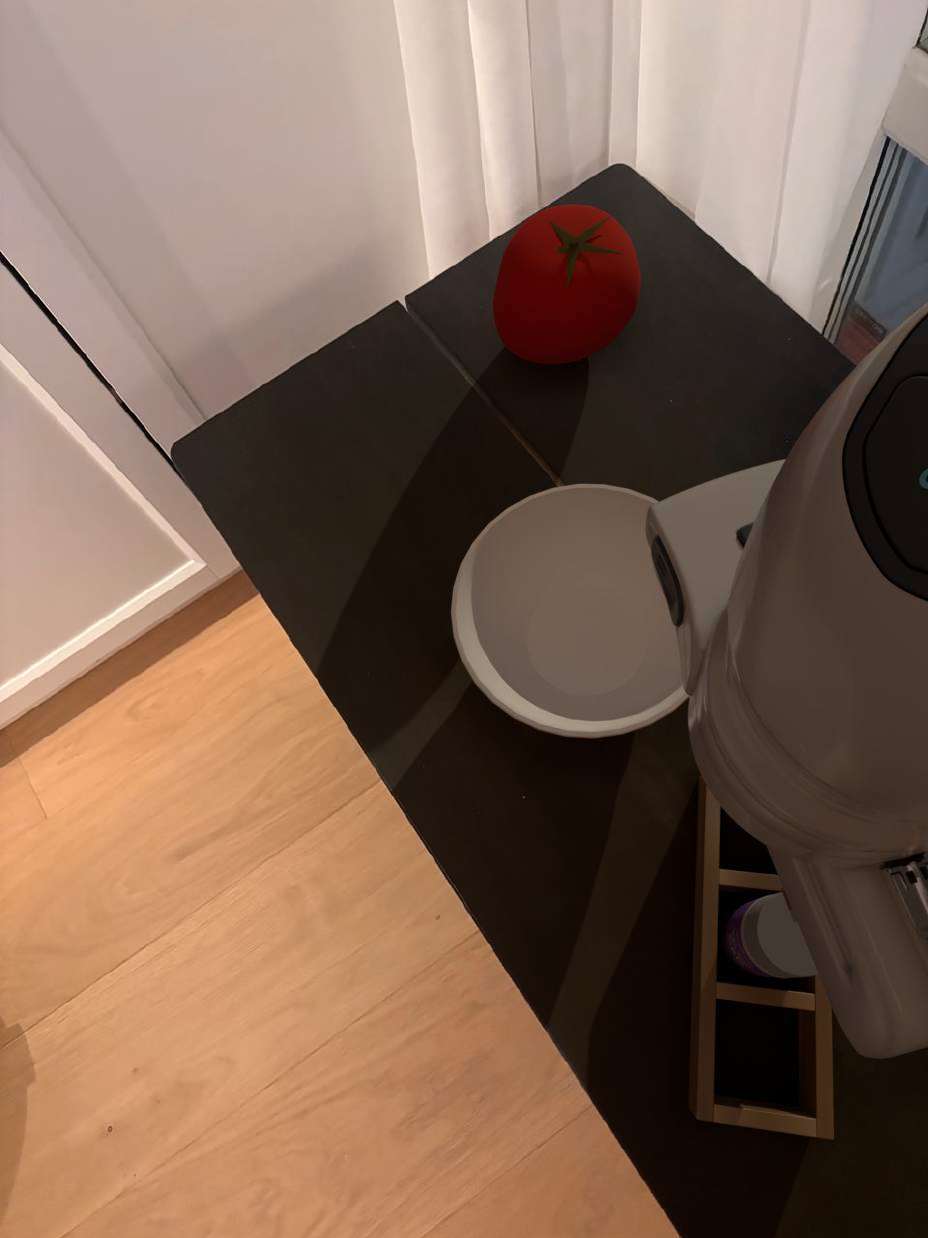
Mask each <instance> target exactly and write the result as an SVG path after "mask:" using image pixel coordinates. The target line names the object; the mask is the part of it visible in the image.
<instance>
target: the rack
mask: <svg viewBox="0 0 928 1238" xmlns="http://www.w3.org/2000/svg"><path fill="white" fill-rule="evenodd" d="M697 783H698V787H697V819H696V820H697V821H696V849H695V851H696V852H695V879H694V880H695V882H694V883H695V885H694V912H693V913H694V916H693V917H694V918H693V946H692V947H693V948H692V949H693V951H692V979H691V983H692V985H691V1007H690V1009H691V1010H690V1011H691V1013H690V1043H689V1044H690V1045H689V1076H688V1077H689V1078H688V1109H689V1110H690V1112H691V1113H692V1114H693V1116H694V1118H695V1119H696V1120H697V1121H704V1122H710V1123H716V1124H723V1125H731V1126H737V1127H743V1128H750V1129H756V1130H757V1129H758V1130H762V1131H770V1132H776V1133H784V1134H790V1135H797V1136H803V1137H810V1138H817V1139H823V1140H829V1141H830V1140H831V1141H834V1140H835V1121H834V1119H835V1118H834V1117H835V1116H834V1115H835V1113H834V1061H833V1059H834V1058H833V1056H834V1055H833V1053H834V1052H833V1008H832V1006H831V1003H830V1001H829V998H828V996H827V993H826V991H825V988H824V986H823V984H822V981H821V979H820V976H819V974H818V975H815V976H810V977H797V981H798V982H797V983H798V984H797V985H798V986H797V987H798V989H797V990H798V991H794V990H787V989H781V988H780V989H779V988H771V987H764V986H763V987H762V986H756V985H748V984H739V983H733V982H732V983H731V982H723V981H717V977H718V975H717V973H718V971H717V970H718V968H717V967H718V964H717V963H718V935H719V927H718V925H719V892H724V893H732V894H742V895H749V896H750V895H751V896H759V897H764V896H768V895H773V894H777V893H781V892H782V891H781V888H782V887H783V885H782V883H781V880H780V878H779V875H778V874H768V873H760V872H759V873H758V872H751V871H750V872H749V871H743V870H742V871H741V870H733V869H722V868H720V845H721V843H720V838H721V837H720V836H721V806H720V804H719V803H718V802H717V801H716V799H715V798H714V796H713V795H712V793H711V792H710V790H709V789H708V787H707V785H706V783H705V781H704V779H703V777H702V776H701V774H699V777H698V782H697ZM717 999H719V1000H725V1001H732V1002H740V1003H748V1004H756V1005H763V1006H764V1005H765V1006H772V1007H778V1008H779V1007H780V1008H785V1009H787V1008H788V1009H794V1010H798V1012H797V1013H798V1106H795V1105H789V1104H781V1103H774V1102H767V1101H760V1100H754V1099H748V1098H747V1099H746V1098H741V1097H733V1096H726V1095H719V1094H715V1064H716V1063H715V1062H716V1061H715V1060H716V1059H715V1058H716V1022H717V1021H716V1020H717V1019H716V1018H717V1017H716V1015H717V1014H716V1013H717Z"/></svg>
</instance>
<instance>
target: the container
mask: <svg viewBox="0 0 928 1238" xmlns="http://www.w3.org/2000/svg"><path fill="white" fill-rule="evenodd" d="M718 945H719V948H720V951H721V954H722V955H723V957H724V958H725V960H726V962H727V963H728V964H729V965H730V966H731V967H732V968H734V969H735V970H737V971H738V972H741V973H742V974H745V975H750V976H753V977H766V978H778V979H794V978H795V979H796V978H798V977H810V976H815V975H818V971H817V969H816V966H815V964H814V961H813V959H812V957H811V954H810V952H809V949H808V947H807V944H806V942H805V939H804V937H803V934H802V932H801V929H800V927H799V925H798V922H793V919H792V916H791V914H790V910H789V909H788V906H787V904H786V901H785V898H784V896H783V893H782V892H781V893H777V894H773V895H768V896H761V897H759V898H757V899H754V900H752V901H749V902H746V903H744V904H741V905H739V906H736V907H734V908H732V909H731V910H730V911H728V913H727V914H726V915H725V916H724V917H723V919H722V921H721V923H720V925H719V927H718Z"/></svg>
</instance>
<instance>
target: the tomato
mask: <svg viewBox="0 0 928 1238" xmlns="http://www.w3.org/2000/svg"><path fill="white" fill-rule="evenodd" d="M641 289H642V272H641V268H640V263H639V259H638V254H637V251H636V249H635V246H634V244H633V240H632V239H631V237H630V236H629V235H628V233H627V231H626V230H625V229H624V227H623V226H622V225H621V223H619V221H618V220H616V219H615V218H614V217H613V216H612V215H610V214H609V213H607V212H606V211H604V210H602V209H601V208H599V207H595V206H592V205H585V204H560V205H554V206H551V207H547V208H545V209H543V210H541V211H539V212H537V213H536V214H533V215H532V216H531V217H529V218H528V219H527V220H526V221H524V222H523V223H522V224H521V226H519V227H518V228H517V230H515V232H514V233H513V235H512V237H511V238H510V240H509V241H508V244H507V245H506V247H505V250H504V253H503V255H502V258H501V261H500V263H499V268H498V273H497V277H496V282H495V286H494V292H493V299H492V313H493V321H494V324H495V327H496V331H497V334H498V336H499V338H500V341H501V343H502V344H503V345H504V347H505V348H506V349H508V350H509V351H510V352H511V353H512V354H514V355H516V356H517V357H518V358H520V359H522V360H525V361H527V362H529V363H535V364H541V365H561V364H570V363H573V362H578V361H581V360H583V359H586V358H588V357H591V356H592V355H594V354H596V353H597V352H599V351H601V350H603V349H605V348H607V347H608V346H609V345H610V344H611V343H612V342H614V341H615V340H616V339H617V338H618V337H619V335H621V333H622V332H623V331H624V329H625V328H626V327H627V326H628V324H629V323H630V322H631V319H632V318H633V316H634V314H635V313H636V309H637V307H638V302H639V300H640V296H641V295H640V294H641Z"/></svg>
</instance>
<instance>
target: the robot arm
mask: <svg viewBox="0 0 928 1238" xmlns="http://www.w3.org/2000/svg"><path fill="white" fill-rule="evenodd" d="M646 538H647V541H648V544H649V547H650V550H651V558H652V563H653V567H654V571H655V574H656V577H657V580H658V582H659V585H660V587H661V589H662V592H663V594H664V596H665V598H666V601H667V605H668V608H669V612H670V616H671V620H672V623H673V625H675V628H676V633H677V639H678V644H679V652H680V662H681V674H682V683H683V688H684V691H685V692H686V693H687V695H689V696H690V697H689V698H688V699H689V700H688V708H687V726H688V736H689V741H690V747H691V751H692V755H693V758H694V760H695V763H696V766H697V768H698V771H699V773H700V775H701V776H702V777H703V779H704V781H705V783H706V785H707V787H708V789H709V790H710V792H711V793H712V795H713V796H714V798H715V799H716V801H717V802H718V803H719V804H720V808H722V809H723V811H724V812H725V813H726V814H727V815H728V816H729V817H730V818H731V819H732V821H734V822H735V823H736V824H737V825H738V826H739V827H740V828H741V829H743V830H744V831H745V832H747V833H748V834H749V835H751V836H752V838H754V839H756V840H758V841H759V842H760V843H762V844H763V845H765V846H766V848H767V851H768V853H769V856H770V858H771V860H772V863H773V865H774V868H775V870H776V873H777V875H779V878H780V880H781V883H782V885H783V887H782V888H781V891H782V893H783V896H784V898H785V901H786V904H787V906H788V909H789V910H790V914H791V916H792V919H793V922H798V925H799V927H800V929H801V932H802V934H803V937H804V939H805V942H806V944H807V947H808V949H809V952H810V954H811V957H812V959H813V961H814V964H815V966H816V969H817V971H818V974H819V976H820V979H821V981H822V984H823V986H824V988H825V991H826V993H827V996H828V998H829V1001H830V1003H831V1006H832V1012H833V1013H834V1017H835V1018H836V1021H837V1023H838V1025H839V1027H840V1029H841V1031H842V1032H843V1034H844V1036H845V1037H846V1039H847V1040H848V1042H849V1043H850V1044H851V1046H852V1048H854V1050H855V1051H856V1052H857V1053H858V1054H859V1055H861V1056H862V1057H864V1058H868V1059H876V1060H880V1059H881V1060H883V1059H892V1058H894V1057H897V1056H901V1055H905V1054H908V1053H911V1052H915V1051H918V1050H919V1051H920V1050H922V1049H926V1048H928V302H926V303H925V304H924V305H922V306H921V307H919V309H917V310H916V311H915V312H913V313H912V314H911V315H910V316H908V317H906V319H904V321H902V322H901V323H900V324H899V325H898V326H897V327H896V328H895V329H893V330H892V331H891V332H890V333H889V334H888V335H887V336H886V337H885V338H884V339H883V340H881V342H880V343H878V345H876V346H875V347H874V348H873V349H872V350H871V351H870V352H869V353H868V354H866V356H865V357H864V358H863V359H862V360H860V362H859V363H858V364H857V365H856V366H855V367H854V369H852V370H851V372H850V373H849V374H848V375H847V376H846V377H845V378H844V380H842V382H841V383H840V384H839V385H838V386H837V387H836V388H835V389H834V390H833V392H832V393H831V394H830V396H829V397H828V398H827V399H826V400H825V402H824V403H823V404H822V405H821V406H820V408H819V410H817V412H816V413H815V415H813V417H812V419H811V420H810V421H809V423H808V424H807V425H806V427H804V429H803V430H802V433H800V435H799V437H798V438H797V440H796V441H795V443H794V444H793V446H792V448H790V451H789V453H788V454H787V456H786V457H785V458H784V459H779V460H776V461H771V462H767V463H763V464H759V465H756V466H752V467H749V468H746V469H742V470H739V471H735V472H731V473H728V474H726V475H722V476H719V477H717V478H714V479H711V480H708V481H706V482H703V483H700V484H698V485H695V486H692V487H690V488H688V489H685V490H682V491H680V492H677V493H676V494H673V495H671V496H668V497H666V498H664V499H661V500H660V501H659V502H658V503H656V504H654V505H651V506H650V507H649V509H648V512H647V516H646Z"/></svg>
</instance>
